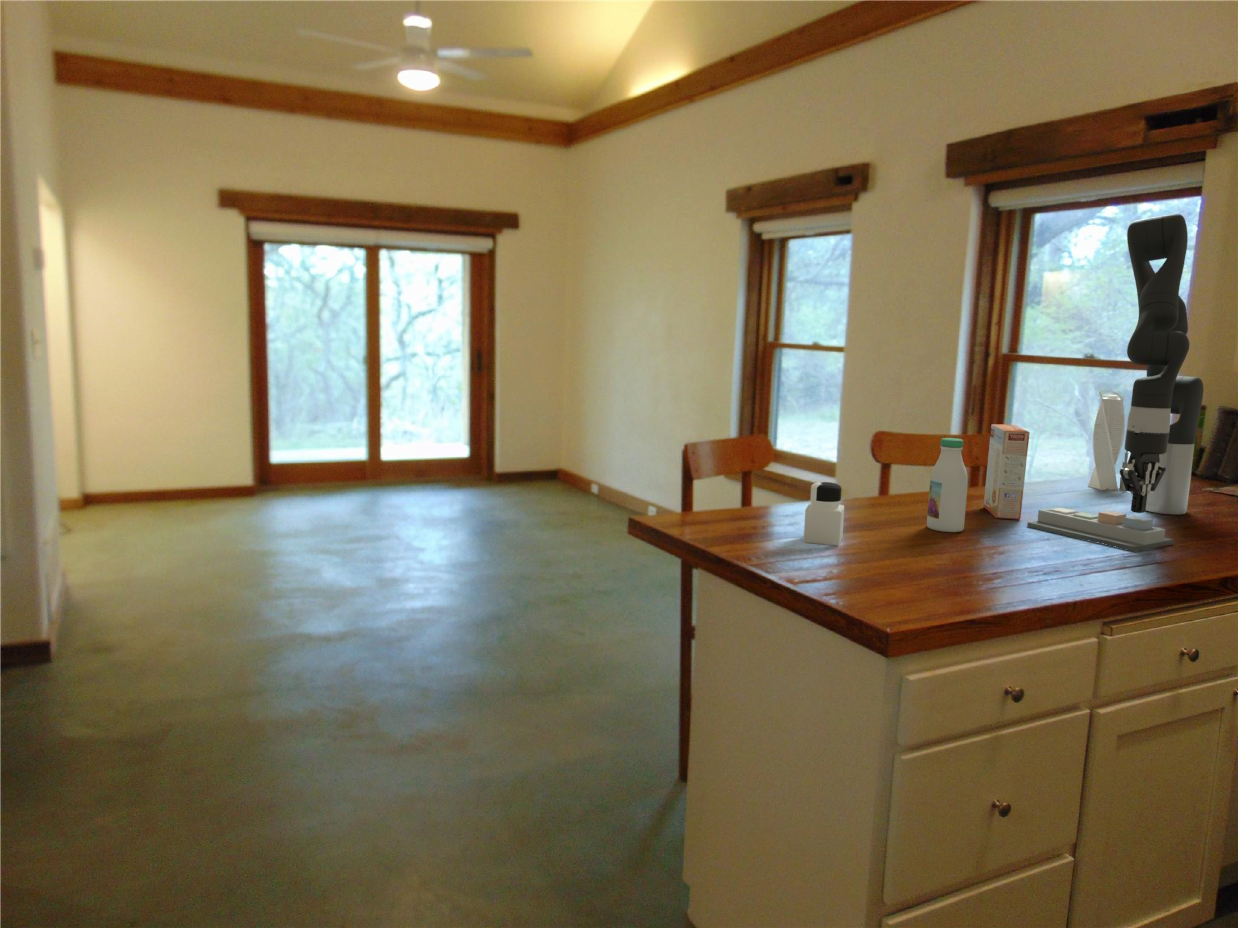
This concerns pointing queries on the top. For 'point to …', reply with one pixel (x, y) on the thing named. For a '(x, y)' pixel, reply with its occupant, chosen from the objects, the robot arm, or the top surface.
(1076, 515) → the key sage
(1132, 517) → the key slate
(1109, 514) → the block
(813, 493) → the medicine bottle
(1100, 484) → the skyscraper
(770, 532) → the top surface
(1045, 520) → the keypad
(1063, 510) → the key ivory
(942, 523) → the milk bottle
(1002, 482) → the cracker box
